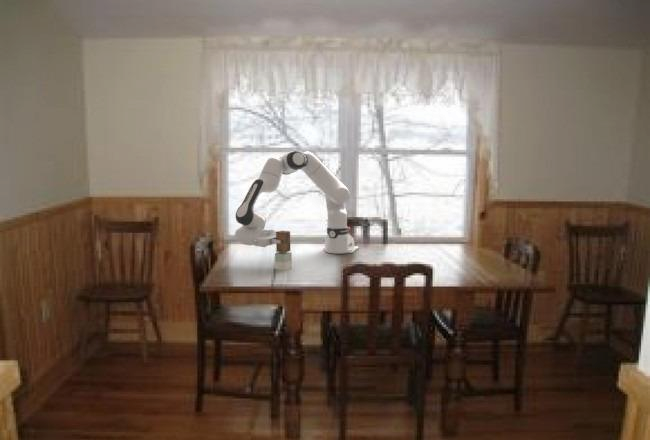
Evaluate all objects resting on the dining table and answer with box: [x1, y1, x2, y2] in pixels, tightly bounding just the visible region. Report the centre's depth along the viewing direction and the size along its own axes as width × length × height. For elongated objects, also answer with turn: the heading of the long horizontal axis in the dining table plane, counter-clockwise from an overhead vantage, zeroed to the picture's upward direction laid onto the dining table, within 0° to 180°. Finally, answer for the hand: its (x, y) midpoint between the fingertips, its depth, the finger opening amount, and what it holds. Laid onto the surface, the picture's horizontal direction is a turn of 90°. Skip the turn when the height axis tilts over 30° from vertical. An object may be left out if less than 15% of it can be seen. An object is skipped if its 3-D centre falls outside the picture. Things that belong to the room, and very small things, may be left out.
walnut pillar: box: [275, 230, 291, 253], centre depth 274 cm, size 5×5×10 cm
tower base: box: [274, 259, 293, 271], centre depth 276 cm, size 6×6×4 cm
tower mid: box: [274, 251, 293, 263], centre depth 275 cm, size 6×6×4 cm
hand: (284, 240), depth 273 cm, fingers closed on walnut pillar, 5 cm apart
